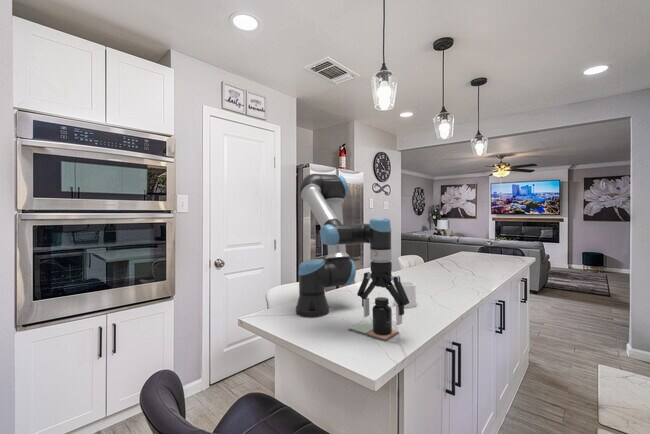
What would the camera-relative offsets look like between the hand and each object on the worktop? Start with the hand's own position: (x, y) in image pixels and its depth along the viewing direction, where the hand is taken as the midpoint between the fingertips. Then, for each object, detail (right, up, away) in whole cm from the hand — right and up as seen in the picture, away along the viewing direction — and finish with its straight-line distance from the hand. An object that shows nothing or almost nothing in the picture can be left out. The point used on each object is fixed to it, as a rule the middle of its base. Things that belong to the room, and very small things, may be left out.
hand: (382, 319), depth 105 cm
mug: (+19, -5, +36) cm, 41 cm away
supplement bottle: (0, -5, 0) cm, 5 cm away
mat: (-3, -5, +3) cm, 7 cm away
